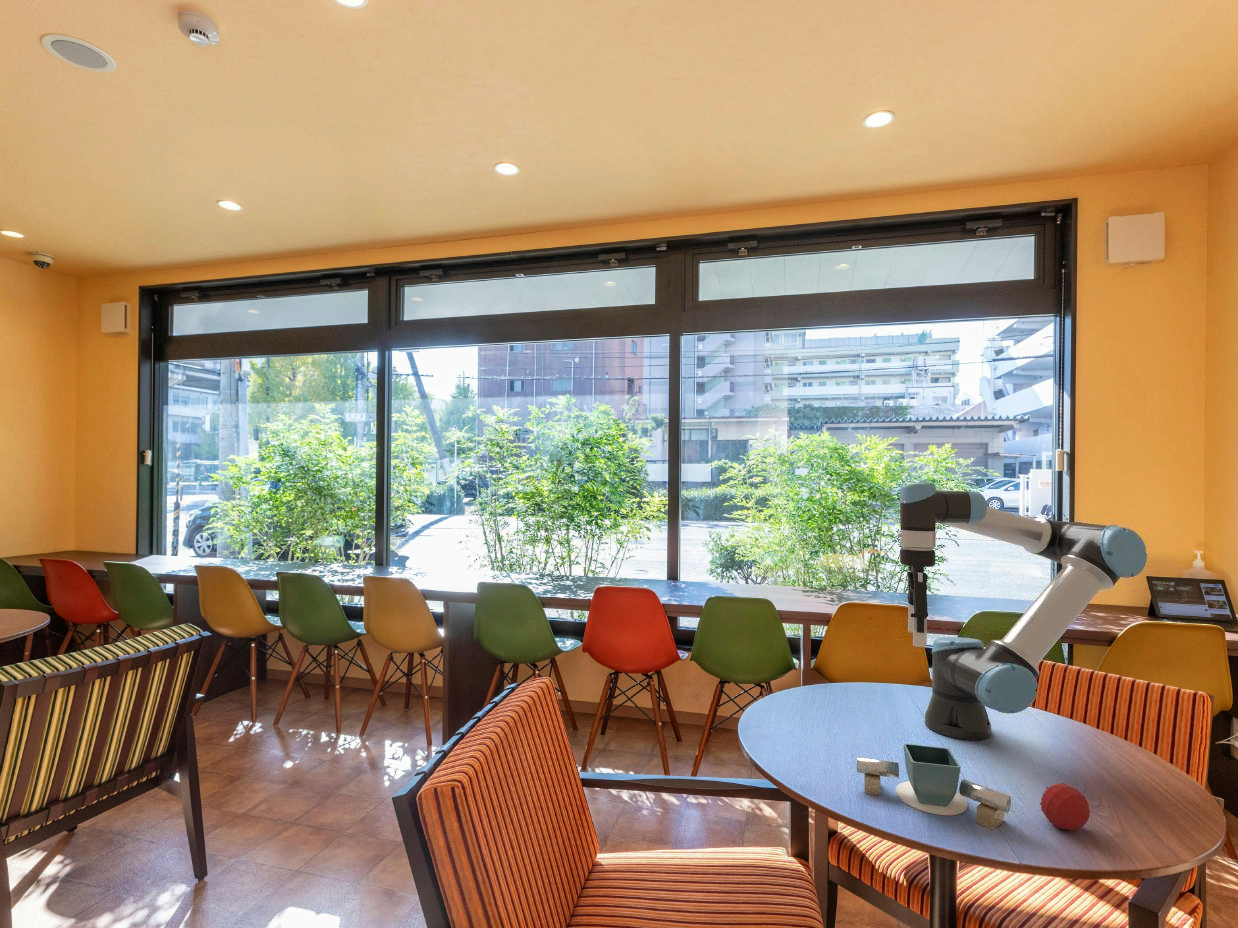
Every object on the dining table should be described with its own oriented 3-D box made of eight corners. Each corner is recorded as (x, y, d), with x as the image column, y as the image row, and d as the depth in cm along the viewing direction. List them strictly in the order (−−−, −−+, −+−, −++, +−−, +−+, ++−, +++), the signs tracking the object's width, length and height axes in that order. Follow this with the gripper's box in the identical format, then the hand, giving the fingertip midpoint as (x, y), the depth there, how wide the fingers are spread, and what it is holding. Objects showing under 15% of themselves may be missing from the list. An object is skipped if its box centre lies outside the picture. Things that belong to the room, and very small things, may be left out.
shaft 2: (956, 814, 123) (957, 783, 123) (967, 806, 126) (967, 775, 126) (1002, 833, 117) (1002, 800, 117) (1012, 823, 120) (1013, 791, 120)
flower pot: (961, 813, 122) (961, 766, 122) (911, 807, 124) (911, 761, 124) (948, 791, 131) (948, 747, 131) (902, 786, 133) (902, 742, 133)
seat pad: (938, 780, 137) (938, 778, 137) (983, 812, 124) (983, 810, 124) (882, 784, 134) (882, 782, 134) (922, 818, 121) (922, 815, 121)
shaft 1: (897, 787, 133) (897, 758, 133) (899, 798, 129) (899, 768, 129) (856, 780, 136) (856, 752, 136) (856, 791, 131) (856, 761, 132)
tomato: (1089, 791, 115) (1052, 764, 122) (1057, 819, 114) (1021, 790, 122) (1105, 819, 117) (1068, 791, 124) (1073, 846, 117) (1038, 817, 124)
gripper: (896, 542, 163) (896, 625, 163) (904, 553, 140) (903, 651, 139) (929, 543, 160) (928, 628, 160) (942, 555, 137) (941, 654, 137)
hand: (916, 639), depth 150 cm, fingers open, 13 cm apart
